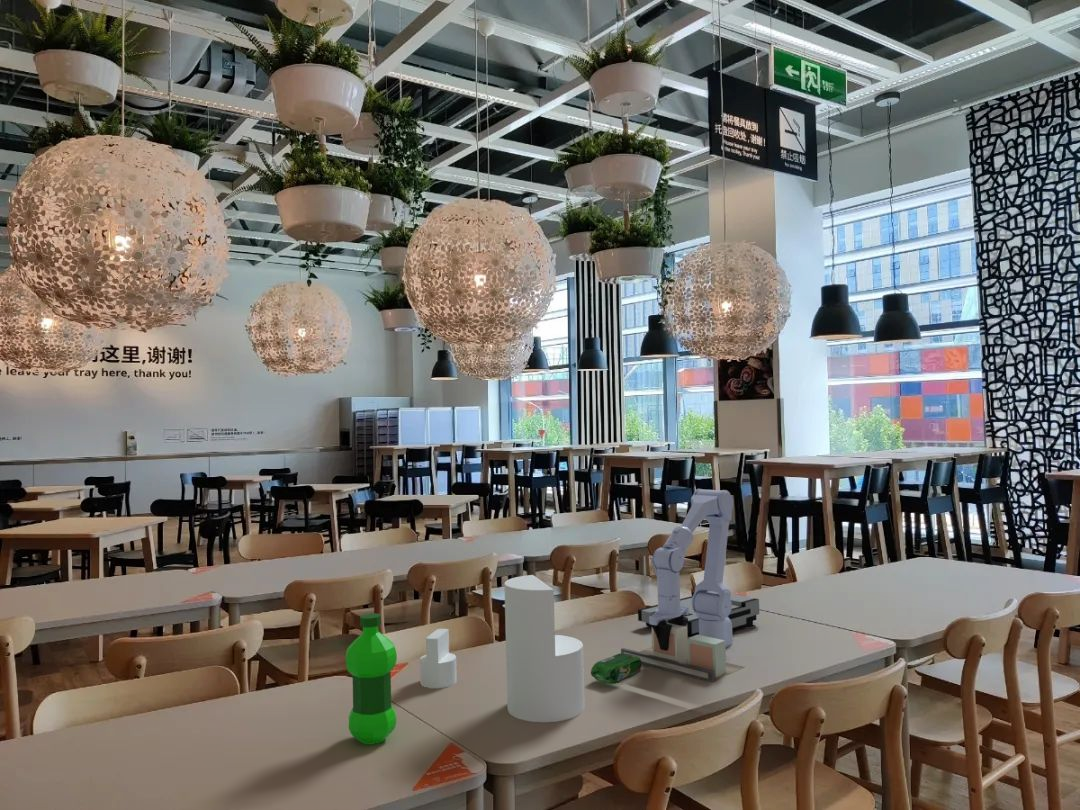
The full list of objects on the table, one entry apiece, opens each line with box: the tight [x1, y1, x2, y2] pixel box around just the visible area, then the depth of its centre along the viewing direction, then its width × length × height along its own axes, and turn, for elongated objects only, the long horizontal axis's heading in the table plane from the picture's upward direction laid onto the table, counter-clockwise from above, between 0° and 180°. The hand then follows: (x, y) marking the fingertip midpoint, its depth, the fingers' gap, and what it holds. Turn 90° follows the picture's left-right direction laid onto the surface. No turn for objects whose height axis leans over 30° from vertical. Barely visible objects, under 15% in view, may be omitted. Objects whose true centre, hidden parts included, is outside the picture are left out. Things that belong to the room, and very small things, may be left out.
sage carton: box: [687, 635, 727, 678], centre depth 189 cm, size 5×8×8 cm, turn 44°
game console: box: [637, 591, 760, 638], centre depth 233 cm, size 21×32×8 cm, turn 129°
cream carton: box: [651, 623, 688, 662], centre depth 197 cm, size 5×8×8 cm, turn 44°
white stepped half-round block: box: [419, 628, 458, 689], centre depth 189 cm, size 9×9×12 cm
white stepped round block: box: [504, 574, 585, 723], centre depth 171 cm, size 17×17×28 cm
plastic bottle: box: [345, 613, 398, 745], centre depth 156 cm, size 10×10×25 cm
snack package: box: [590, 652, 643, 685], centre depth 188 cm, size 7×16×5 cm, turn 137°
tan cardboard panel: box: [620, 646, 745, 683], centre depth 197 cm, size 15×28×4 cm, turn 44°
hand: (670, 647), depth 197 cm, fingers closed on cream carton, 5 cm apart
